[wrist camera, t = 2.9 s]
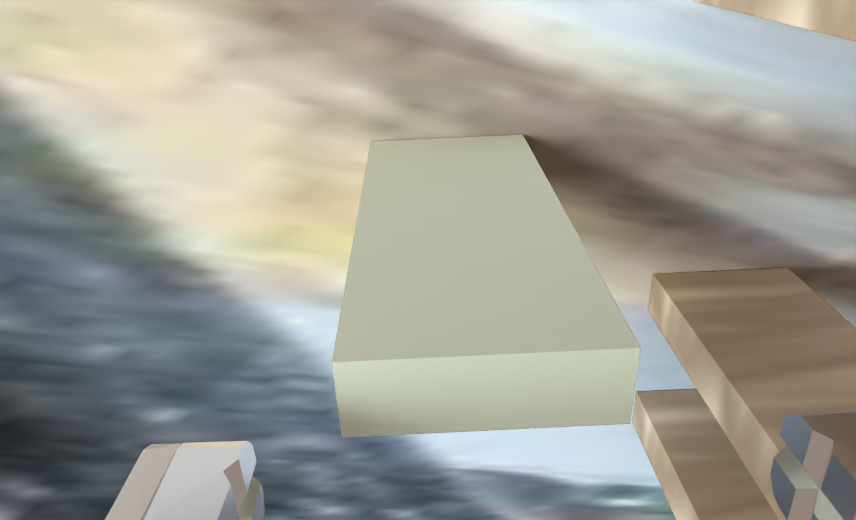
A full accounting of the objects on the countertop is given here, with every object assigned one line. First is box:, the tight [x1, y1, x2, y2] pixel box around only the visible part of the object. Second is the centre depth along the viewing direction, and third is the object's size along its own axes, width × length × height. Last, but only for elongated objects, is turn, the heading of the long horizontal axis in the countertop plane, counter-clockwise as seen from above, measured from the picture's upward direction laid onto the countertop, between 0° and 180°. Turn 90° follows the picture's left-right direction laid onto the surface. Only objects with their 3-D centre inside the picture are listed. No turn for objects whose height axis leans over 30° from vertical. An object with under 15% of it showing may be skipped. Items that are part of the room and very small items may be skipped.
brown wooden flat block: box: [648, 268, 856, 520], centre depth 19 cm, size 2×5×12 cm, turn 92°
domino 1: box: [332, 135, 641, 437], centre depth 16 cm, size 2×5×12 cm, turn 92°
